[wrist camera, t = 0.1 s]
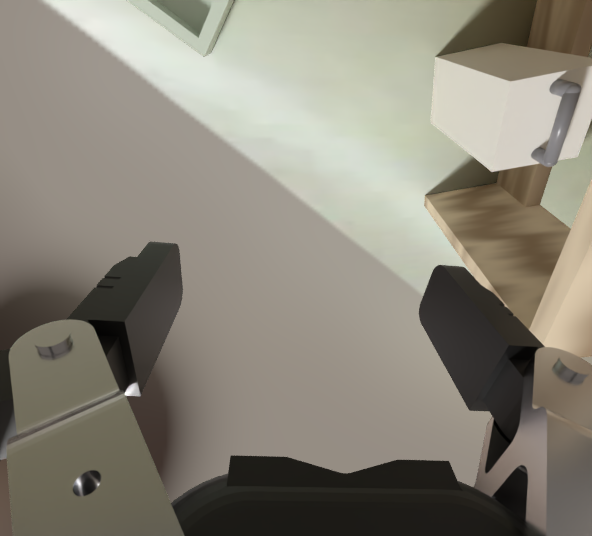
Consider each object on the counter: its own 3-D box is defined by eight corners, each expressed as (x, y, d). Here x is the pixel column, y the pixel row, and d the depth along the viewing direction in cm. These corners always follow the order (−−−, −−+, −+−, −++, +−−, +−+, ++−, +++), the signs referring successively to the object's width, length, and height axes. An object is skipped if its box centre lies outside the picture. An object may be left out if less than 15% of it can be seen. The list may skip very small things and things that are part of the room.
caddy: (430, 122, 29) (504, 182, 19) (435, 56, 26) (527, 87, 16) (489, 111, 28) (596, 166, 18) (501, 42, 25) (638, 65, 15)
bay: (424, 205, 34) (534, 363, 19) (447, -98, 20) (891, -387, 5) (506, 191, 33) (688, 344, 18) (586, -133, 20) (1555, -586, 5)
